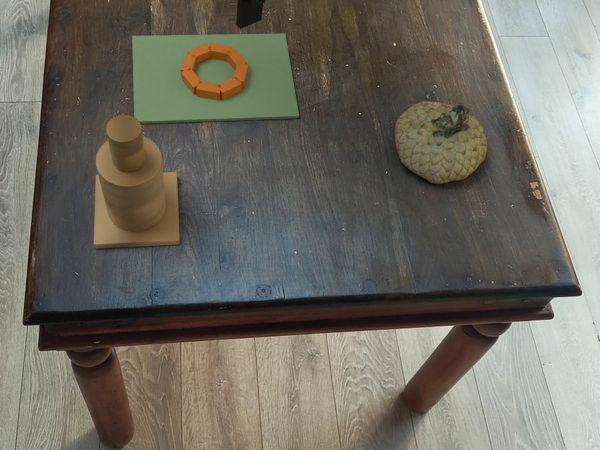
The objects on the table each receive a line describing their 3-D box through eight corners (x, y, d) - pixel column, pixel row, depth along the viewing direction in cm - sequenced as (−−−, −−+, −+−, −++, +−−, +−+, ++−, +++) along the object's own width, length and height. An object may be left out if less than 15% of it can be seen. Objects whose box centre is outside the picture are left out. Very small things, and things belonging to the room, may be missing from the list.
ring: (205, 108, 86) (205, 101, 85) (170, 66, 89) (169, 58, 88) (258, 82, 89) (259, 75, 88) (223, 42, 92) (223, 34, 91)
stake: (94, 248, 76) (71, 169, 63) (96, 179, 80) (75, 91, 67) (179, 244, 77) (174, 166, 64) (177, 176, 81) (171, 90, 68)
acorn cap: (486, 196, 85) (512, 115, 83) (414, 183, 80) (439, 97, 78) (439, 175, 94) (462, 101, 91) (371, 162, 89) (393, 84, 86)
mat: (134, 124, 84) (134, 121, 84) (132, 38, 91) (132, 35, 91) (298, 118, 88) (299, 115, 87) (284, 36, 94) (285, 33, 94)
